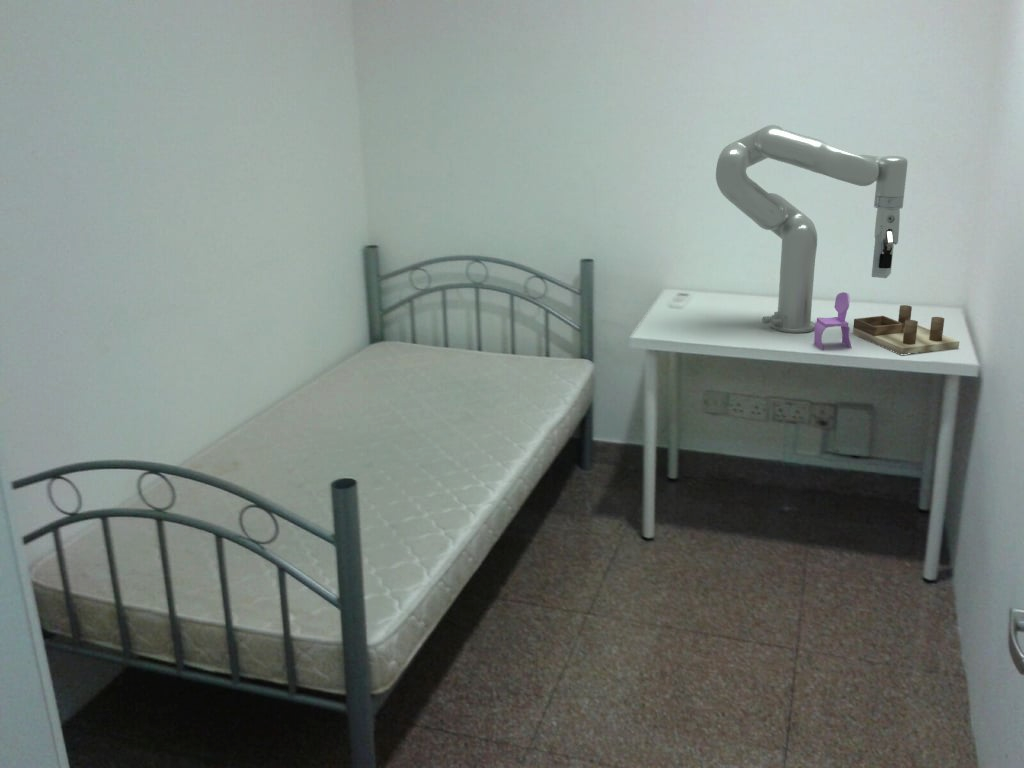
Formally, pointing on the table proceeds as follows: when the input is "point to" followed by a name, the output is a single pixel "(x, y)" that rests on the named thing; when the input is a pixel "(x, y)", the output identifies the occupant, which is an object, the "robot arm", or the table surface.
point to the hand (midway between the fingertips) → (882, 264)
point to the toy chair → (835, 321)
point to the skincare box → (875, 269)
